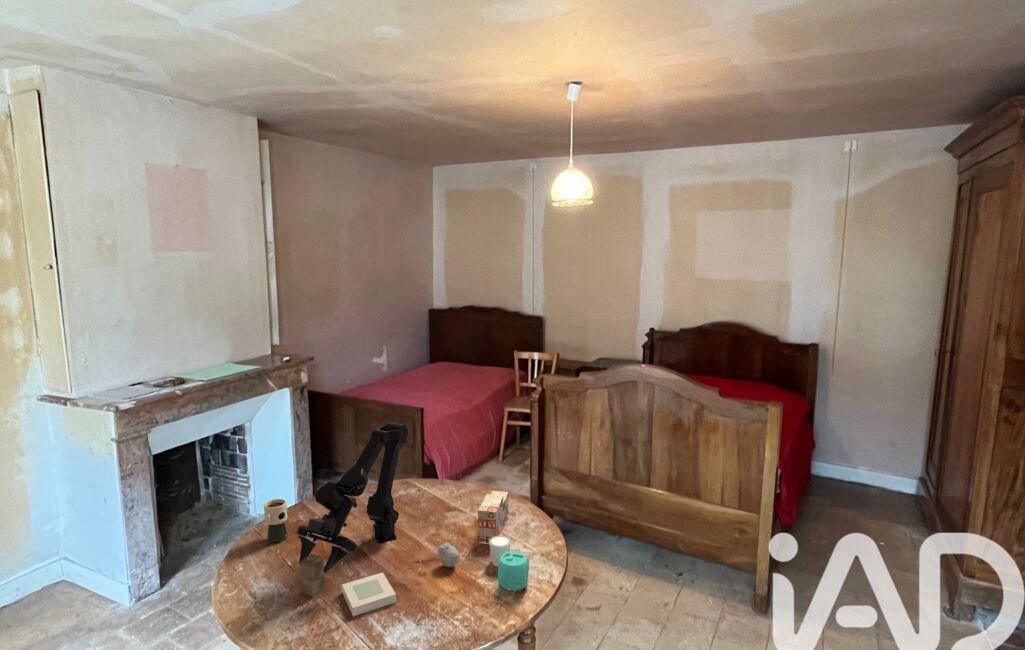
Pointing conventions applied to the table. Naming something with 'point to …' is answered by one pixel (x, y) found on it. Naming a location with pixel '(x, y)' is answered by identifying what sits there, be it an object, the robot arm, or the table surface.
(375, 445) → the robot arm
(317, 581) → the walnut pillar
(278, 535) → the character mug
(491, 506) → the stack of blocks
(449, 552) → the grey rock
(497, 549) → the white cylinder
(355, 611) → the baseplate
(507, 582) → the teal lidded canister
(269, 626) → the table surface
